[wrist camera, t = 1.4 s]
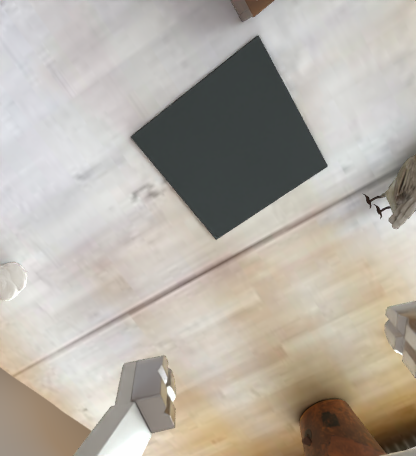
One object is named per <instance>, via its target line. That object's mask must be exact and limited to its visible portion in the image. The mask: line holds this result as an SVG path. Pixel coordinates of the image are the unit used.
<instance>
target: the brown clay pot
mask: <svg viewBox="0 0 416 456" xmlns="http://www.w3.org/2000/svg"><path fill="white" fill-rule="evenodd" d="M300 429H301V435H302V442H303V447H304V452H305V456H381V455H386V454H387V453H385V452H384V450H383V449H382V448H381V447H380V445H379V444H378V443H377V441H376V440H375V439H374V438H373V436H372V435H371V434H370V432H369V431H368V430H367V429H366V427H365V426H364V425H363V423H362V422H361V421H360V420H359V418H358V417H357V416H356V414H355V413H354V412H353V411H352V409H351V408H350V406H349V405H348V404H347V403H346V402H345V401H343V400H340V399H330V400H324V401H321V402H318V403H316V404H314V405H313V406H311V407H310V408H308V409H307V410H306V411H305V412H304V413H303V415H302V416H301V418H300Z"/></svg>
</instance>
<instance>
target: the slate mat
mask: <svg viewBox="0 0 416 456" xmlns="http://www.w3.org/2000/svg"><path fill="white" fill-rule="evenodd" d="M131 138H132V139H133V140H134V141H135V143H136V144H137V145H138V146H139V147H140V149H141V150H142V151H143V152H144V153H145V155H146V156H147V157H148V158H149V159H150V161H151V162H152V163H153V164H154V165H155V167H156V168H157V169H158V170H159V171H160V173H161V174H162V175H163V176H164V177H165V179H166V180H167V181H168V182H169V183H170V185H171V186H172V187H173V188H174V189H175V191H176V192H177V193H178V194H179V195H180V197H181V198H182V199H183V200H184V201H185V203H186V204H187V205H188V206H189V207H190V209H191V210H192V211H193V212H194V213H195V215H196V216H197V217H198V218H199V219H200V221H201V222H202V223H203V224H204V225H205V227H206V228H207V229H208V230H209V231H210V233H211V234H212V235H213V236H214V237H215V239H216V240H217V239H218V238H220V237H221V236H223V235H224V234H226V233H227V232H229V231H230V230H232V229H233V228H235V227H236V226H238V225H239V224H241V223H242V222H244V221H245V220H247V219H248V218H250V217H252V216H253V215H255V214H256V213H258V212H259V211H261V210H262V209H264V208H265V207H267V206H268V205H270V204H271V203H273V202H274V201H276V200H277V199H279V198H280V197H282V196H283V195H285V194H286V193H288V192H289V191H291V190H293V189H294V188H296V187H297V186H299V185H300V184H302V183H303V182H305V181H306V180H308V179H309V178H311V177H312V176H314V175H315V174H317V173H318V172H320V171H321V170H323V169H324V168H326V167H327V166H328V165H327V164H326V162H325V160H324V158H323V156H322V154H321V152H320V150H319V148H318V147H317V145H316V143H315V141H314V139H313V137H312V135H311V133H310V132H309V130H308V128H307V126H306V124H305V122H304V120H303V118H302V117H301V115H300V113H299V111H298V109H297V107H296V105H295V103H294V101H293V100H292V98H291V96H290V94H289V92H288V90H287V88H286V86H285V85H284V83H283V81H282V79H281V77H280V75H279V73H278V71H277V70H276V68H275V66H274V64H273V62H272V60H271V58H270V56H269V54H268V53H267V51H266V49H265V47H264V45H263V43H262V41H261V39H260V38H259V36H257V37H255V38H254V39H253V40H252V41H250V42H249V43H248V44H247V45H245V46H244V47H243V48H242V49H240V50H239V51H238V52H237V53H235V54H234V55H233V56H231V57H230V58H229V59H228V60H226V61H225V62H224V63H223V64H221V65H220V66H219V67H218V68H216V69H215V70H214V71H213V72H211V73H210V74H209V75H208V76H206V77H205V78H204V79H203V80H201V81H200V82H199V83H198V84H196V85H195V86H194V87H193V88H191V89H190V90H189V91H188V92H186V93H185V94H184V95H183V96H181V97H180V98H179V99H178V100H176V101H175V102H174V103H173V104H171V105H170V106H169V107H168V108H166V109H165V110H164V111H162V112H161V113H160V114H159V115H157V116H156V117H155V118H154V119H152V120H151V121H150V122H149V123H147V124H146V125H145V126H144V127H142V128H141V129H140V130H139V131H137V132H136V133H135V134H134V135H132V136H131Z"/></svg>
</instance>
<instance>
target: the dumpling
mask: <svg viewBox="0 0 416 456" xmlns="http://www.w3.org/2000/svg"><path fill="white" fill-rule="evenodd" d="M26 272H28V271H26V270H25V269H24V268H23V267H22V266H21V265H20V264H18V263H16V262H10V263H7V264H5V265H4V264H2V265H0V300H4V301H8V300H11V299H13V298H14V297H15V296H16V295H17V294H18V293H19V292H20V291H22V290H23V289H24V288H25V285H26V282H27V273H26Z"/></svg>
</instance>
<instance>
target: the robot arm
mask: <svg viewBox="0 0 416 456" xmlns="http://www.w3.org/2000/svg"><path fill="white" fill-rule="evenodd" d="M385 315H386V316H387V318H388V319H389V320H388V321H387V322H386V323H385V334H386V337H387V340H388V342H389V344H390V345H391V347H392V348H393V349H394V351H396V352H398V353H400V354H402V355H403V359H402V361H403V363H404V364H405V365H406V367H407V368H408V369H409V371H410V372H411V373H412V375H413V376H414V377H415V378H416V301H412V302H407V303H403V304H398V305H394V306H390V307H387V309H386V314H385ZM175 397H176V387H175V380H174V375H173V372H172V370H171V369H169V368H168V360H167V358H166V356H158V357H153V358H148V359H142V360H138V361H133V362H128V363H124V365H123V367H122V372H121V377H120V382H119V387H118V392H117V397H116V402H115V406H111V407H110V408H109V409H108V411H107V412H106V413H105V415H104V416H103V417H102V419H101V420H100V421H99V422H98V424H97V425H96V426H95V428H94V429H93V430H92V432H91V433H90V434H89V436H88V437H87V438H86V440H85V441H84V442H83V444H82V445H81V446H80V447H79V449H78V450H77V451H76V452H75V454H74V455H73V456H141V455H142V453H143V451H144V449H145V447H146V445H147V443H148V441H149V439H150V437H151V436H152V434H151V433H155V432H160V431H164V430H168V429H172V428H175V410H176V409H175V406H174V404H173V400H174V399H175ZM381 456H416V449H411V450H406V451H401V452H396V453H391V454H386V455H381Z"/></svg>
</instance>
